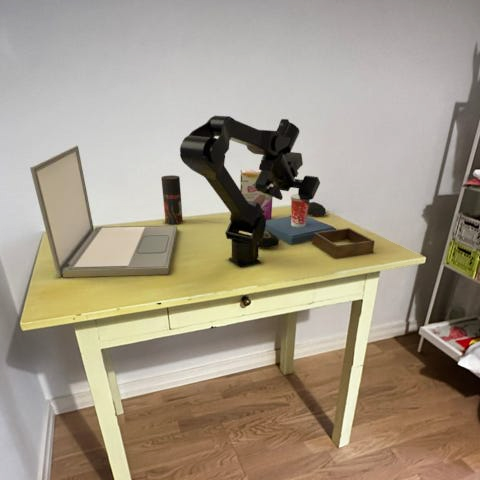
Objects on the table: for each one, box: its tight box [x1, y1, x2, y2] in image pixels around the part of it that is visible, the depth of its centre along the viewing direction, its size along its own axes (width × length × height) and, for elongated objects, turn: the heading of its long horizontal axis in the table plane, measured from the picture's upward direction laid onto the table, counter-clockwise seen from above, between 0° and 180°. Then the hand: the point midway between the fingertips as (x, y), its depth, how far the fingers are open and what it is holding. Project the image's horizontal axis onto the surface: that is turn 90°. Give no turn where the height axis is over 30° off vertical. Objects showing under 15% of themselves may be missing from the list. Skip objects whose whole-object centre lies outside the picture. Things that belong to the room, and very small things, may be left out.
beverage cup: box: [290, 193, 309, 227], centre depth 125 cm, size 6×6×14 cm
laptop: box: [29, 145, 178, 278], centre depth 109 cm, size 35×28×26 cm
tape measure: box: [258, 231, 280, 249], centre depth 118 cm, size 7×7×4 cm
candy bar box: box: [239, 169, 274, 220], centre depth 138 cm, size 11×5×16 cm, turn 93°
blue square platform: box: [264, 215, 337, 245], centre depth 130 cm, size 18×18×2 cm
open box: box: [311, 227, 376, 259], centre depth 117 cm, size 13×13×4 cm
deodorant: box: [161, 174, 184, 226], centre depth 136 cm, size 6×6×15 cm
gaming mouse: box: [307, 201, 327, 217], centre depth 149 cm, size 6×15×4 cm, turn 23°
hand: (294, 200), depth 122 cm, fingers open, 9 cm apart
